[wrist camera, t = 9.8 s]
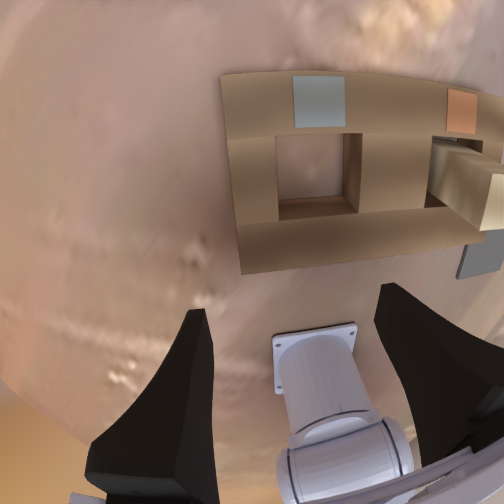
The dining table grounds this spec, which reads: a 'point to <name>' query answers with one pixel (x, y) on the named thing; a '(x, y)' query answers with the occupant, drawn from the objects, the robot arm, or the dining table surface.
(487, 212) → the birch plug
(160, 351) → the dining table surface
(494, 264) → the mat
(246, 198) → the socket board
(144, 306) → the dining table surface
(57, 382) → the dining table surface
